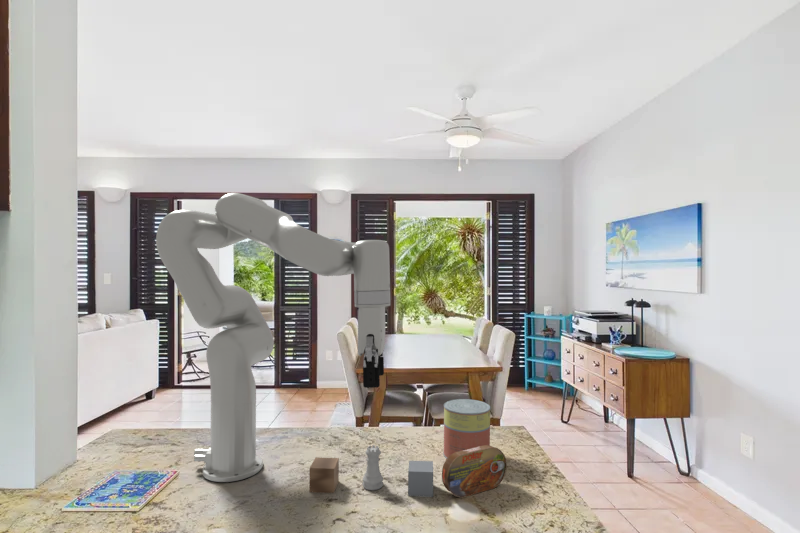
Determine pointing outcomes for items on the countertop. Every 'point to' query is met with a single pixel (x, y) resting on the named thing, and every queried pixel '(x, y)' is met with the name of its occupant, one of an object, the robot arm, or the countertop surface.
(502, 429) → the countertop surface
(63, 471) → the countertop surface
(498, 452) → the tin
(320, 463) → the walnut block
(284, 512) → the countertop surface
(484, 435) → the canned food
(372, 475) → the rook chess piece
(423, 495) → the medium-grey block
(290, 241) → the robot arm
